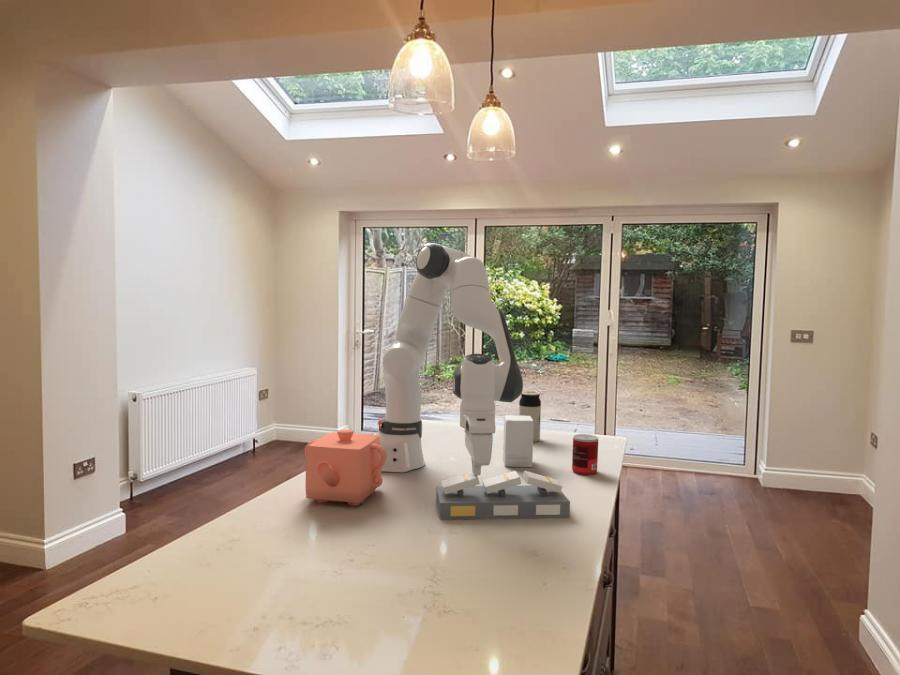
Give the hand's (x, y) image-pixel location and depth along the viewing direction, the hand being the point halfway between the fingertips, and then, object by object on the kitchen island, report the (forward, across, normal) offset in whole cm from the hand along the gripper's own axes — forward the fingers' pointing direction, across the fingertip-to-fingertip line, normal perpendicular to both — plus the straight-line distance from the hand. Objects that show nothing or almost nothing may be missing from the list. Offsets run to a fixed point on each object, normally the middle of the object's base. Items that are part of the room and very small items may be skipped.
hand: (476, 473), depth 159 cm
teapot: (+9, -8, -34) cm, 37 cm away
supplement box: (+10, -42, +20) cm, 47 cm away
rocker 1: (+2, 0, -4) cm, 5 cm away
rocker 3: (+2, 0, +17) cm, 17 cm away
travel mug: (+10, -74, +31) cm, 81 cm away
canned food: (+10, -32, +39) cm, 51 cm away
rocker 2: (+2, 0, +6) cm, 7 cm away
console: (+9, 0, +6) cm, 11 cm away
